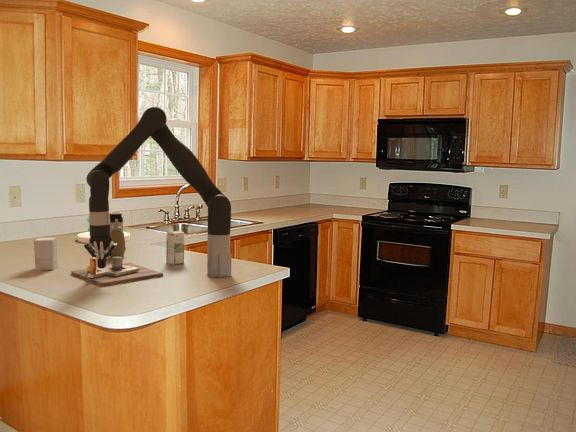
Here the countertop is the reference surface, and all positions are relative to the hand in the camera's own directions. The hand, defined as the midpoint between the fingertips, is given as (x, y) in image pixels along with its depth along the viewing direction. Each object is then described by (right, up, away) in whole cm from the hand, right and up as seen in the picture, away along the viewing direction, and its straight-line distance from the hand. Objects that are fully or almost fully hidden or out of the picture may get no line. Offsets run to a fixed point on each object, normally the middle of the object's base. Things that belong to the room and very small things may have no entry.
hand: (101, 268), depth 198 cm
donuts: (-46, +9, +117) cm, 126 cm away
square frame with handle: (0, -3, +8) cm, 9 cm away
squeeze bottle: (-10, 0, +48) cm, 49 cm away
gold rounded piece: (-7, -3, +8) cm, 11 cm away
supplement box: (-31, -2, +21) cm, 37 cm away
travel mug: (-20, +4, +75) cm, 78 cm away
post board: (+2, -4, +11) cm, 12 cm away
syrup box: (+20, -2, +37) cm, 42 cm away
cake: (-33, +6, +96) cm, 102 cm away
